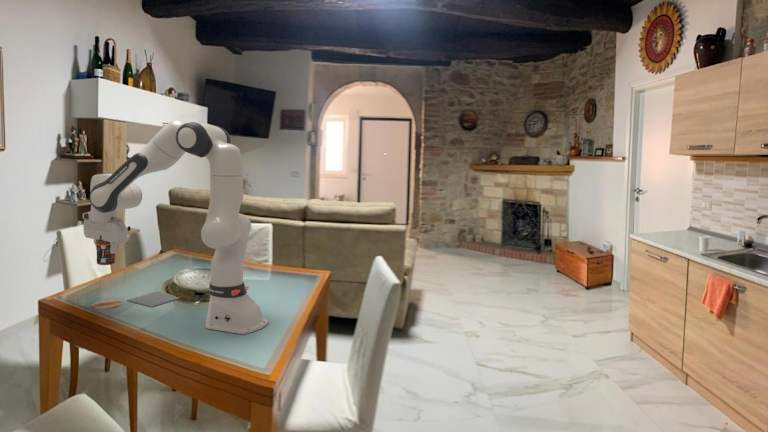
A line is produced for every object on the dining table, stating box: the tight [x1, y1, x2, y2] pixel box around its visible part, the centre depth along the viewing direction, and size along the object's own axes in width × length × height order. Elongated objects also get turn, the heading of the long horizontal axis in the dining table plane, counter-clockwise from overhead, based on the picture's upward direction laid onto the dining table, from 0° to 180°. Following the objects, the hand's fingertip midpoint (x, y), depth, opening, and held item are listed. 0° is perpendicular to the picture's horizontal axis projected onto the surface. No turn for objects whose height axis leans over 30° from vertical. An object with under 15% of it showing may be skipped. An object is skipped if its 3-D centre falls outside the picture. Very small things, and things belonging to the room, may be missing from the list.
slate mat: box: [126, 290, 180, 308], centre depth 184 cm, size 14×14×1 cm
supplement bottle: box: [96, 235, 116, 266], centre depth 172 cm, size 6×6×11 cm
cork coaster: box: [90, 299, 123, 310], centre depth 175 cm, size 10×10×1 cm
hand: (105, 252), depth 173 cm, fingers closed on supplement bottle, 6 cm apart
